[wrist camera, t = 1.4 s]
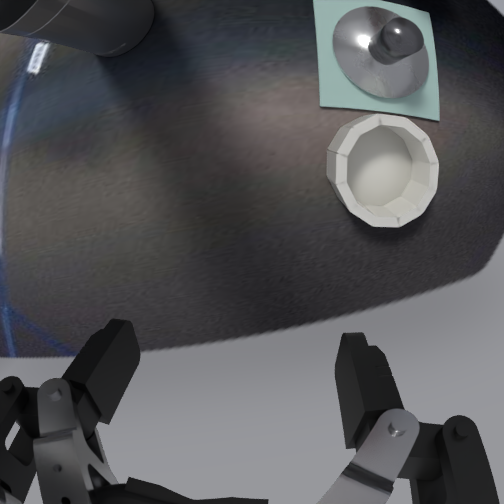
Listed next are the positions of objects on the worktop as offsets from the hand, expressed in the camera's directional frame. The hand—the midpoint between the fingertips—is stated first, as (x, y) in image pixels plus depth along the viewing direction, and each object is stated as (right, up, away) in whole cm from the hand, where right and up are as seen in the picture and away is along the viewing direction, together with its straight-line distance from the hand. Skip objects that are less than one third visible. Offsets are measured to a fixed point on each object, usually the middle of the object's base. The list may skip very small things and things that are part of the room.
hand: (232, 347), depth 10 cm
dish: (+14, +13, +18) cm, 26 cm away
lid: (+14, +25, +12) cm, 31 cm away
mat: (+14, +25, +13) cm, 31 cm away
